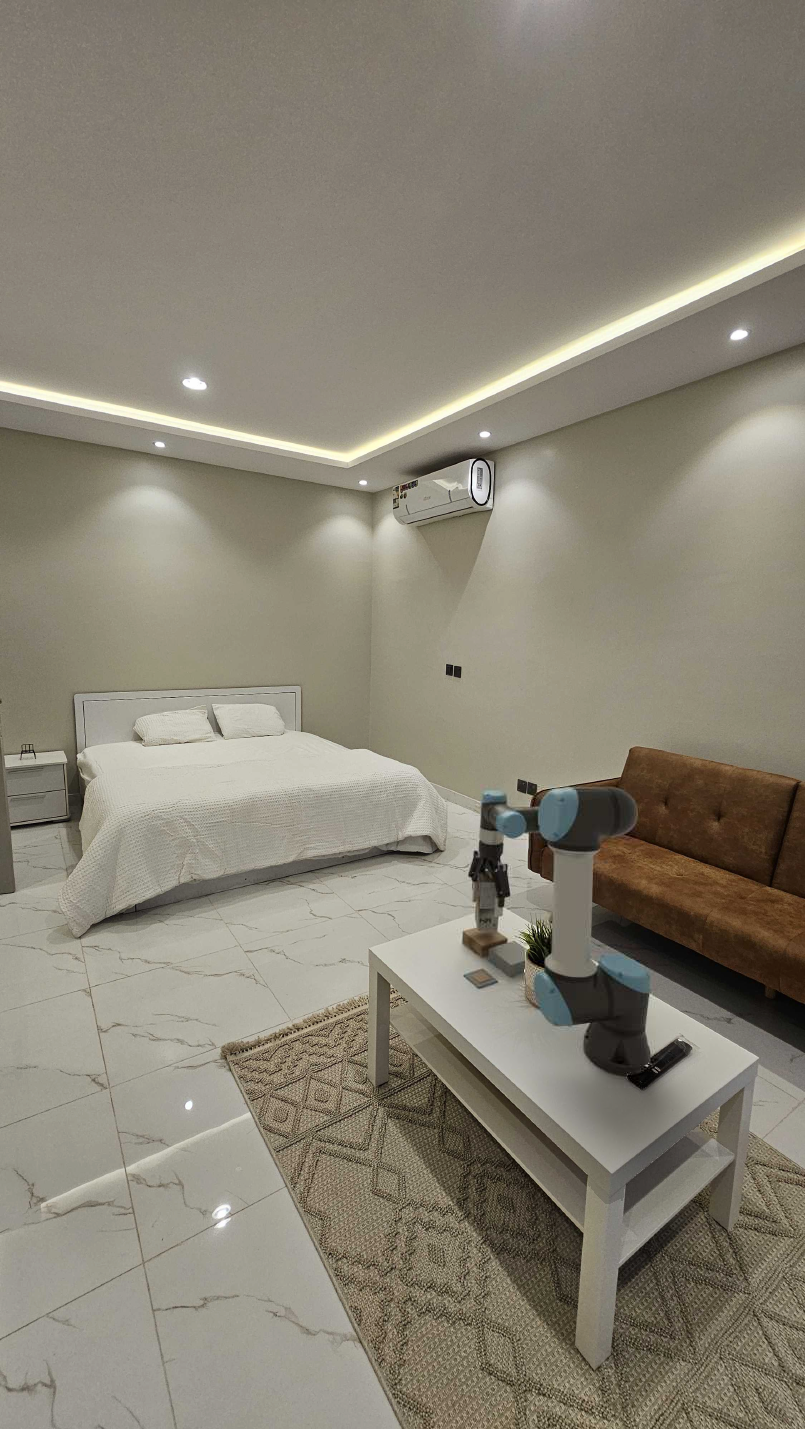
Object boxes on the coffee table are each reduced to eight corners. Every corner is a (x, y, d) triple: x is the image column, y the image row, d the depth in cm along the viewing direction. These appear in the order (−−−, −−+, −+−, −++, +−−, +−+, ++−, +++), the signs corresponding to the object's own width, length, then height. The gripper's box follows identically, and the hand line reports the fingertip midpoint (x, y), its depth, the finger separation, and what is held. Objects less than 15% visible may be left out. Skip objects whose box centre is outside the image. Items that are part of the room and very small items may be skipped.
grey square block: (535, 969, 179) (537, 956, 178) (510, 977, 174) (511, 964, 173) (513, 952, 187) (514, 940, 187) (488, 960, 182) (489, 948, 182)
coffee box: (498, 932, 185) (501, 882, 182) (477, 931, 185) (480, 881, 182) (493, 917, 194) (497, 870, 191) (473, 916, 194) (477, 869, 191)
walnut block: (506, 950, 188) (507, 938, 188) (481, 958, 183) (482, 946, 183) (486, 935, 197) (487, 924, 196) (462, 942, 192) (462, 931, 191)
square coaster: (498, 981, 171) (498, 979, 171) (478, 988, 168) (478, 986, 168) (482, 969, 177) (482, 967, 177) (463, 975, 174) (463, 973, 174)
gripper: (526, 851, 177) (520, 921, 180) (478, 827, 197) (474, 891, 200) (506, 855, 173) (501, 927, 177) (459, 830, 193) (455, 895, 196)
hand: (486, 908), depth 188 cm, fingers closed on coffee box, 10 cm apart
